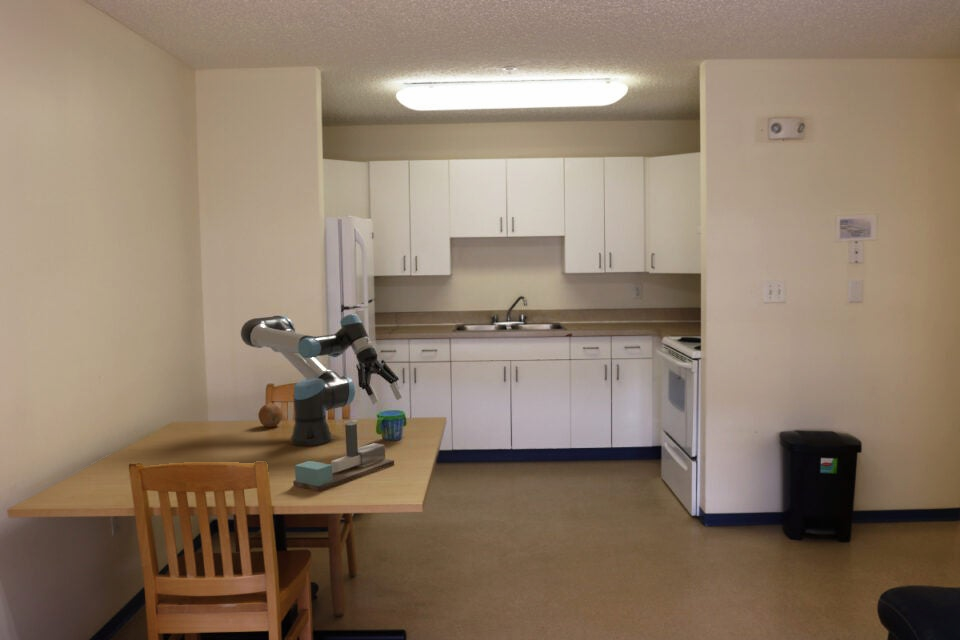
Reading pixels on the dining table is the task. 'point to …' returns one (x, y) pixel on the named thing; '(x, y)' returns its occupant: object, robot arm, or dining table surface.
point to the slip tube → (349, 448)
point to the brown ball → (270, 415)
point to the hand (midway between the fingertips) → (388, 400)
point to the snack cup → (391, 424)
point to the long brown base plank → (356, 467)
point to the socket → (313, 473)
